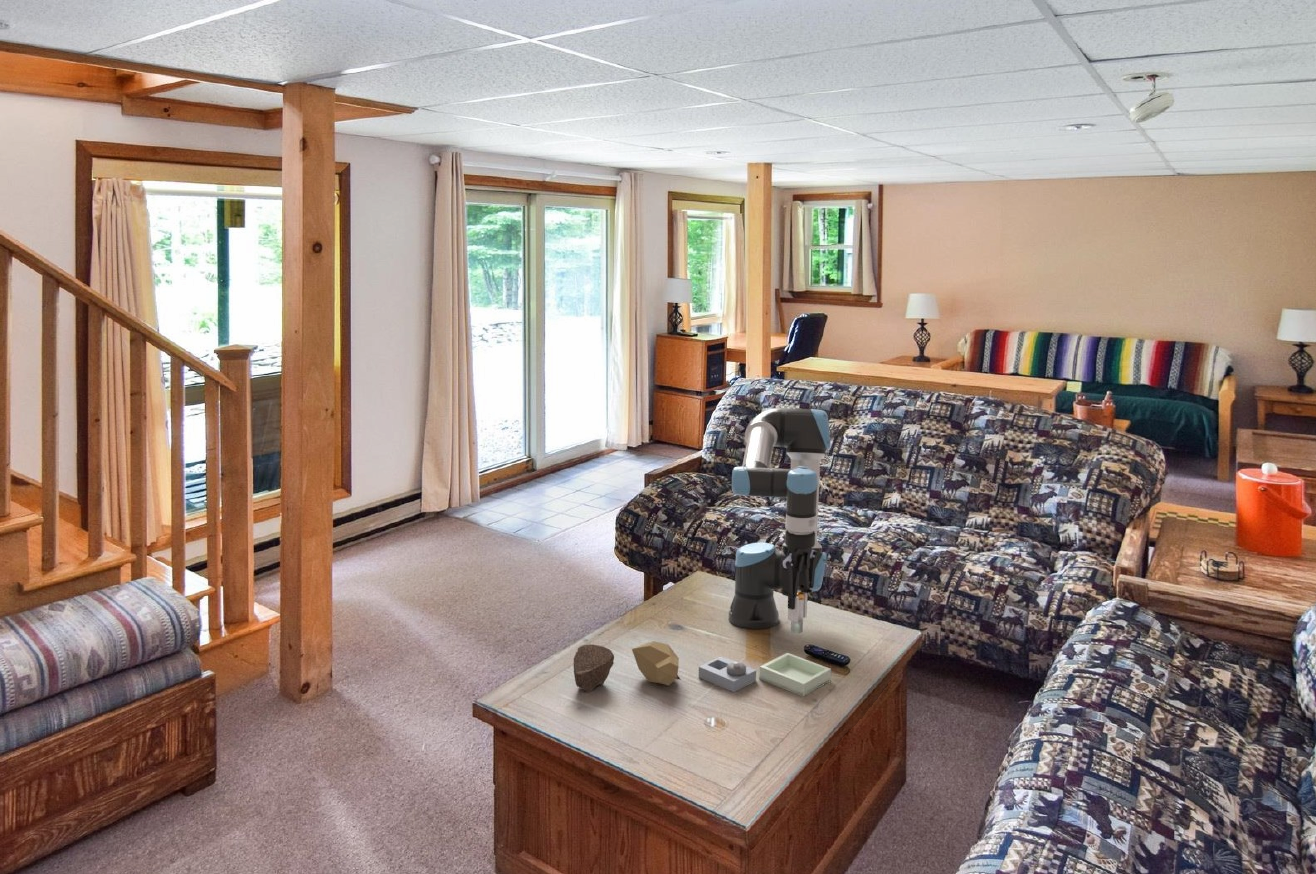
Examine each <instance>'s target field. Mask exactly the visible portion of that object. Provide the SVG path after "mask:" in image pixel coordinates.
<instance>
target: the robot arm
mask: <svg viewBox="0 0 1316 874" xmlns="http://www.w3.org/2000/svg"><path fill="white" fill-rule="evenodd" d="M829 423H830V422H829V415H828V412H826V411H825V410H823V409H814V408H782V407H778V408H777V407H775V408H771V409H767V410H765V411H762V412H761V413H759V414H757V415H756V416H755V417H753V419H751V420H750V422H749V423H748V424H747V426H746V429H745V432H744V440H745V443H746V445H745V449H744V454H743V455H744V456H743V461H742V465H741V466H735V467H733V469H732V472H731V473H732V474H731V491H732V493H733V495H738V496H745V497H768V498H769V497H770V498H771V497H773V498H784V499H785V498H786V509H785V511H786V513H785V529H786V530H785V532H784V533H785V535H784V536H785V537H784V538H785V539H784V543H782V549H780V550H779V549H776V547H775V545H774V544H772V543H768V542H760V541H759V542H751V543H747V544H745V545H742V546H740V547H739V548H738V549H737V550H736V554H735V555H736V556H735V561H734V566H735V578H734V596H733V599H732V601H731V604H730V607H729V610H728V621H729V622H730V623H731V624H732V625H734V626H737V627H739V628H744V629H749V630H751V629H752V630H762V629H768V628H769V629H770V628H772V627H774V626H776V625H777V624H778V623H779V617H780V616H779V611H778V607H777V604H776V601H775V597H774V596H775V595H774V593H775V592H774V590H781V592H782V595H783V596H785V597H787V619H788V620H790V621H791V620H792V621H795V622H797V621H798V610H799V597H797V591H798V592H803V593H804V609H803V619H804V618H807V617H808V616H807V615H808V614H807V613H808V600H809V599H808V598H809V597H808V596H809V594H811V593H812V592H818V591H819V590H820V589H821V587H822V584H823V579H824V574H825V568H826V561H827V553H826V552H825V551H822V549H823V546H822V545H821V544H820V542H819V541H818V526H819V525H818V523H819V522H818V520H819V498H820V497H819V494H820V473H821V472H820V469H821V468H820V467H821V460H822V459H823V458H824V457H825V456H826V450H830V449H831V435H830V433H831V432H830V424H829ZM774 447H775V448H776V447H779V448H786V450H785V452H786V455H787V456H788V457H789V459H790V468H775V467H773V468H772V467H771V464H772V463H771V462H772V455H773V448H774Z"/></svg>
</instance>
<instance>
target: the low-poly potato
mask: <svg viewBox="0 0 1316 874" xmlns="http://www.w3.org/2000/svg"><path fill="white" fill-rule="evenodd" d="M631 651H632V654H633V657H634V660H635V661H636V665H637V668H638V670H639V671H640V673H641V674H642V675H643V677H644V678H645V679H646V680H647V682H648V683H653V684H659V685H660V684H661V685H665V686H670V685H671V684H672V683H673V682H675V680H679V681H680V680H681V678H680V676H679V675H678V674H679V665H680V664H679V661H680V660H679V659H680V658H679V657H678V655H677V654H676V652H675V651H674V649H673V648H672V647H671V646H670V644H668V643H663V642H658V641H651V642H647V643H645V644H642V645H639V646H637V647H633V648H631Z"/></svg>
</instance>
